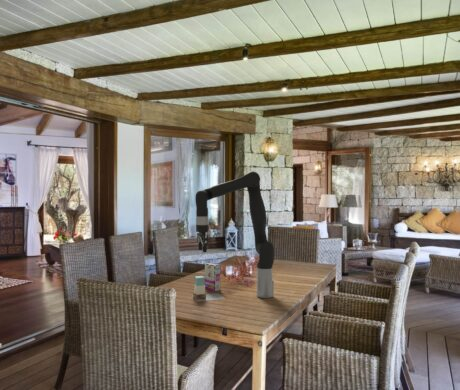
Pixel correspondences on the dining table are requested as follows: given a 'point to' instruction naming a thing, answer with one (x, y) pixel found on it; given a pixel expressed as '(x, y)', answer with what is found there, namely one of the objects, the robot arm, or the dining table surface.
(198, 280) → the teal cube
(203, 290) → the cream cube
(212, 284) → the candy bar box
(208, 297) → the board
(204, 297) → the walnut base
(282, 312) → the dining table surface
